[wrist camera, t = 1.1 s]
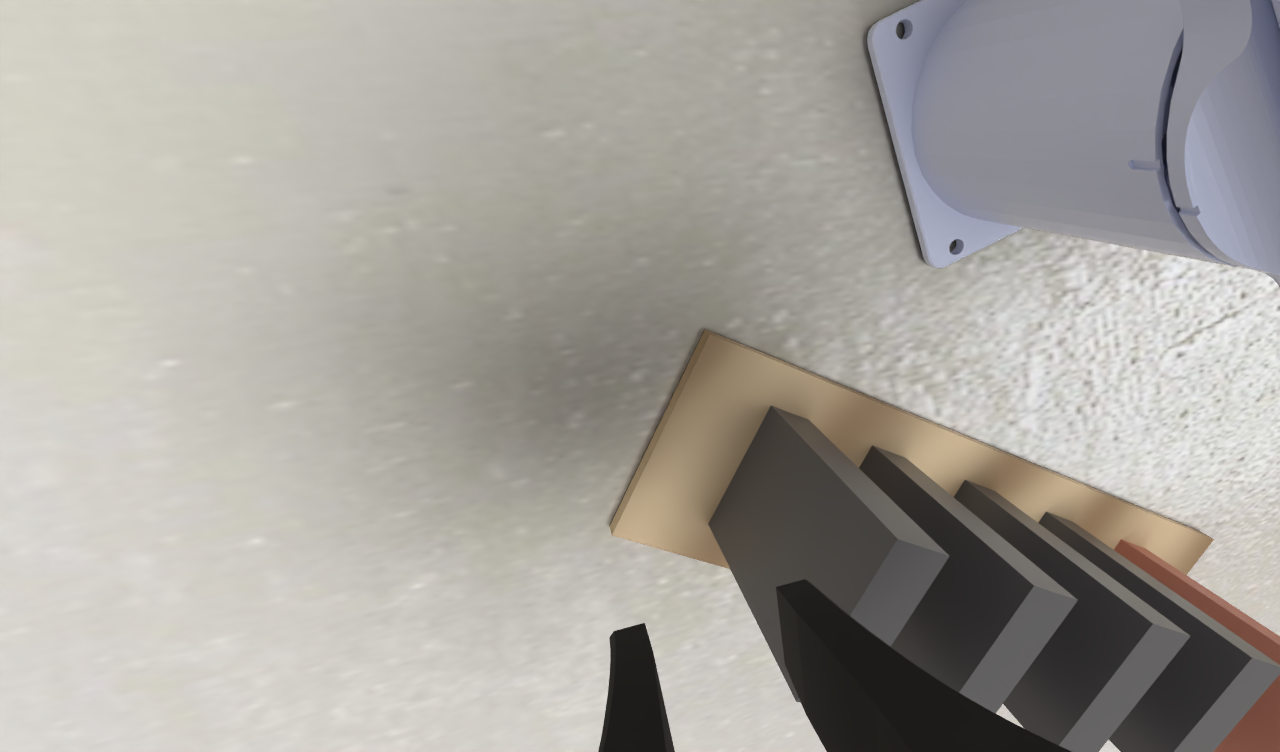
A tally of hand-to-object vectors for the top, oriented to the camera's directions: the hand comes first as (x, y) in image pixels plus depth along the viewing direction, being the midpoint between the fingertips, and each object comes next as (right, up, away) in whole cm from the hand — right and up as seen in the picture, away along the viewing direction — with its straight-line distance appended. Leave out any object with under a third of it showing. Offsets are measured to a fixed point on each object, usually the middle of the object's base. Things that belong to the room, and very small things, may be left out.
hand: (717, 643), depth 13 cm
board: (+11, -1, +14) cm, 17 cm away
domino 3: (+11, -1, +13) cm, 17 cm away
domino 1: (+3, +2, +11) cm, 11 cm away
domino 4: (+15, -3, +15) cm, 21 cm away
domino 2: (+7, 0, +12) cm, 14 cm away
